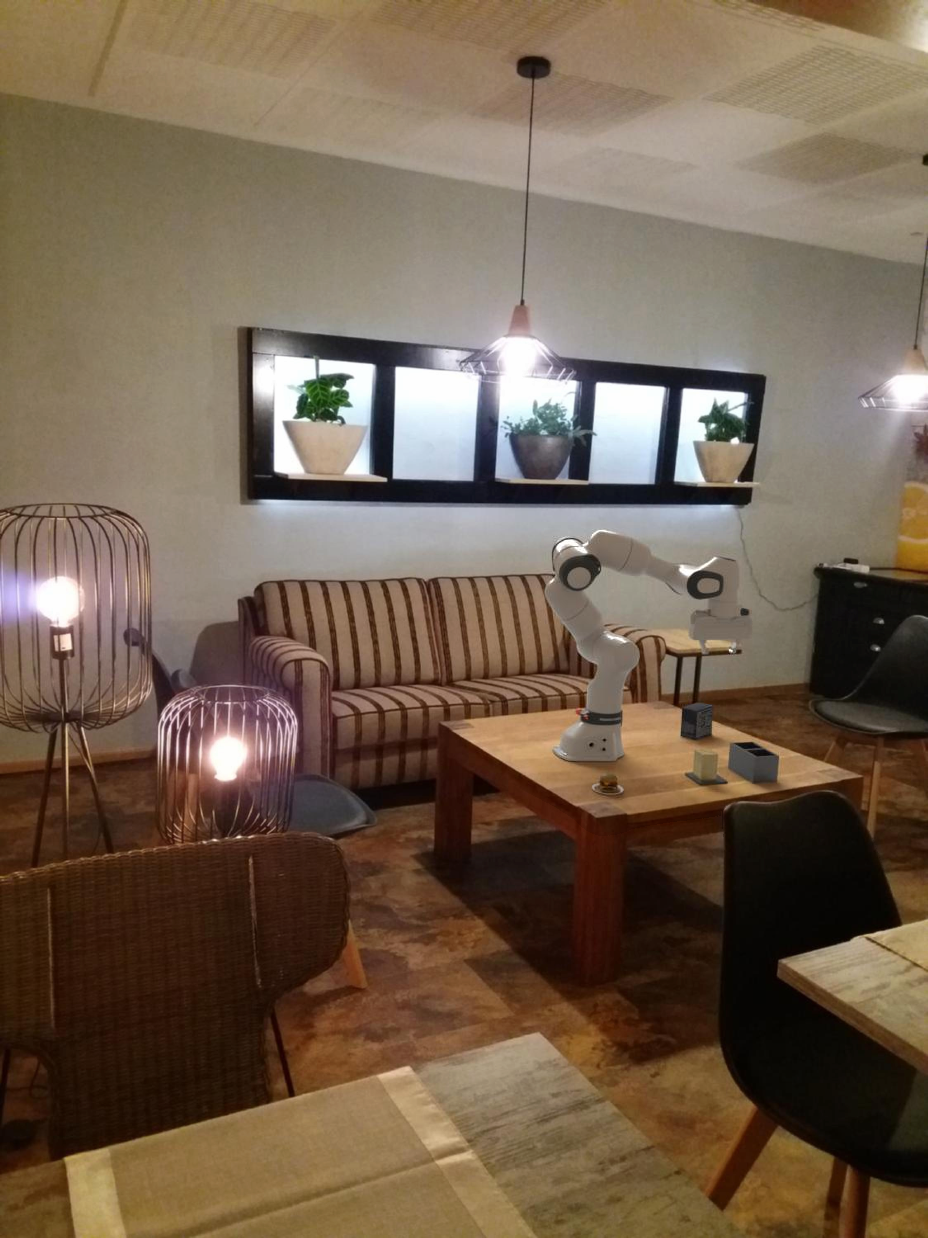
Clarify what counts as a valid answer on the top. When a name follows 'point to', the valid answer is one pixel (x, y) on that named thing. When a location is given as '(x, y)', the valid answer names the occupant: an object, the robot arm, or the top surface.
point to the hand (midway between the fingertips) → (718, 653)
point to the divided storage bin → (753, 762)
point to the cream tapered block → (705, 765)
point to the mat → (718, 781)
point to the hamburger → (608, 784)
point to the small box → (696, 721)
